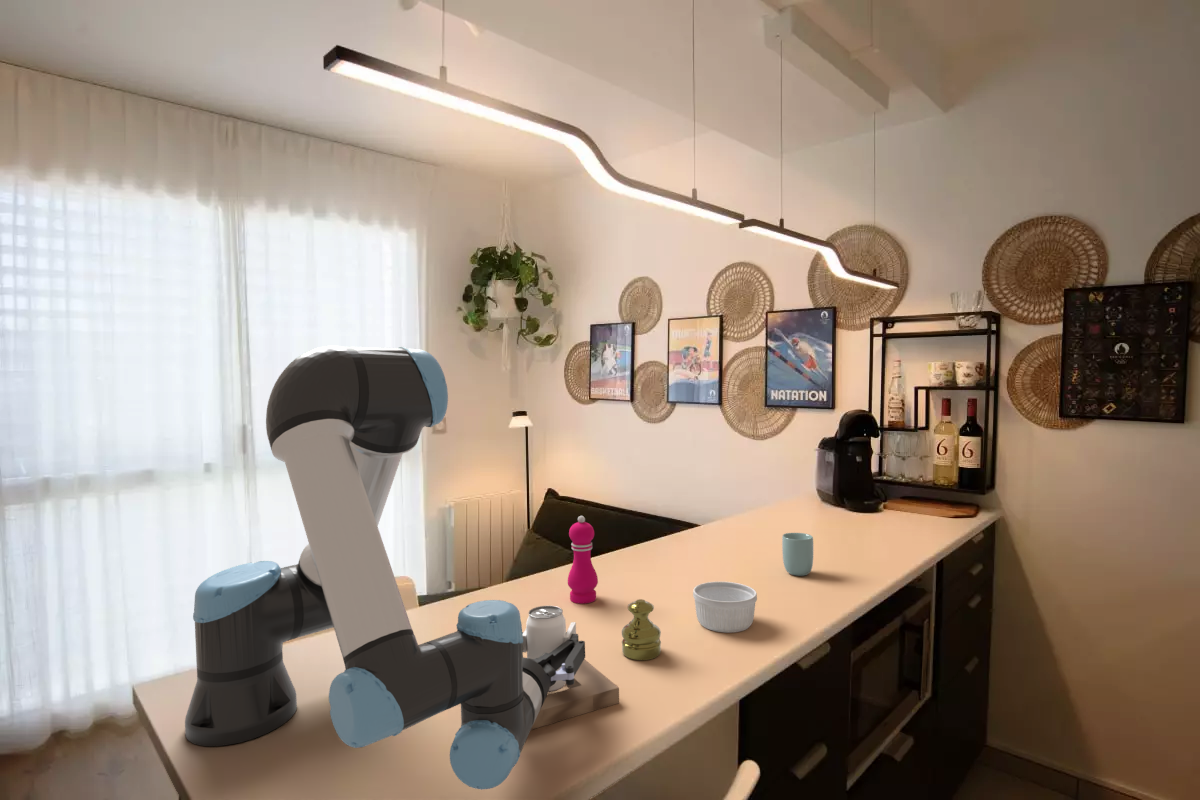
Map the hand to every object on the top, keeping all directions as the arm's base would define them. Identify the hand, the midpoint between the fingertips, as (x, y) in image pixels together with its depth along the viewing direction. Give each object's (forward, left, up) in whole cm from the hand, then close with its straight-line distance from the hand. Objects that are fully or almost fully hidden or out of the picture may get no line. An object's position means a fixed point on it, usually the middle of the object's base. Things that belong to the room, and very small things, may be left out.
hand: (553, 629), depth 108 cm
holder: (-3, -4, -9) cm, 10 cm away
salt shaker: (+19, +2, -9) cm, 21 cm away
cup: (+80, +21, -9) cm, 83 cm away
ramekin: (+42, +5, -9) cm, 43 cm away
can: (-3, -4, -7) cm, 9 cm away
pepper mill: (+23, +34, -9) cm, 42 cm away
